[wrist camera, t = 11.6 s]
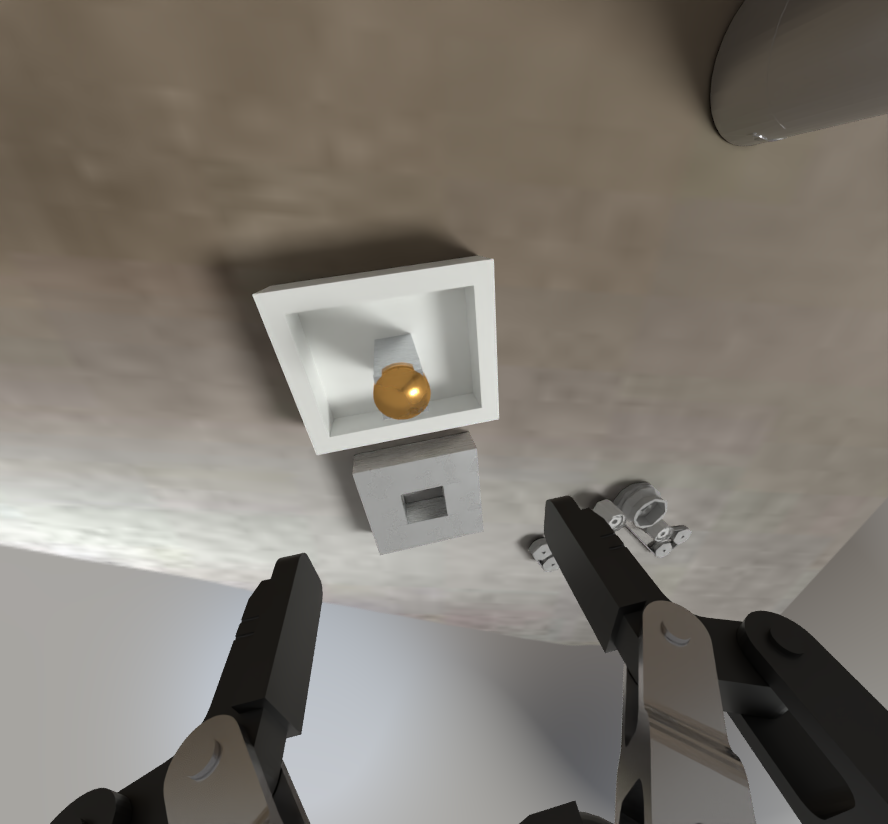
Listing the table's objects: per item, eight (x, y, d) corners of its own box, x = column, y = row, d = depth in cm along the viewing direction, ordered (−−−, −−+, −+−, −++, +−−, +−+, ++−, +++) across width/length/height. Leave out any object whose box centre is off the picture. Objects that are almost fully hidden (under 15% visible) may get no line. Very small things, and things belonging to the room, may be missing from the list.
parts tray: (270, 285, 24) (252, 294, 20) (477, 255, 25) (493, 258, 22) (323, 430, 30) (316, 455, 27) (486, 398, 32) (499, 419, 28)
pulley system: (544, 478, 40) (519, 562, 46) (565, 504, 36) (534, 592, 42) (709, 471, 47) (667, 545, 53) (742, 491, 43) (693, 569, 49)
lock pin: (369, 336, 26) (366, 373, 19) (413, 329, 26) (426, 363, 19) (379, 377, 28) (380, 424, 21) (420, 369, 28) (434, 413, 21)
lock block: (354, 454, 32) (352, 474, 30) (469, 431, 33) (476, 448, 31) (379, 533, 38) (380, 555, 36) (476, 511, 39) (483, 531, 37)
